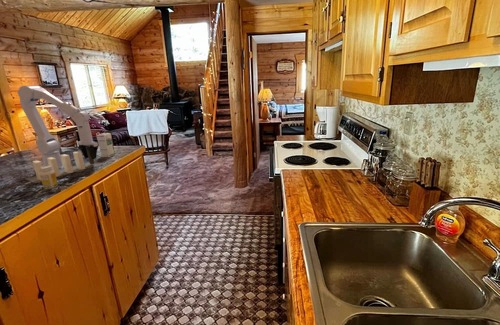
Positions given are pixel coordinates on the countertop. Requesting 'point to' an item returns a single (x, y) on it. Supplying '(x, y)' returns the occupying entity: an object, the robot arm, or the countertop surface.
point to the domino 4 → (79, 160)
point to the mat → (62, 172)
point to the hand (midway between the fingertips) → (90, 158)
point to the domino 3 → (66, 163)
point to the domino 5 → (90, 158)
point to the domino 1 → (37, 168)
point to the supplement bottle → (48, 177)
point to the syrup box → (105, 144)
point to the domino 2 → (54, 165)
